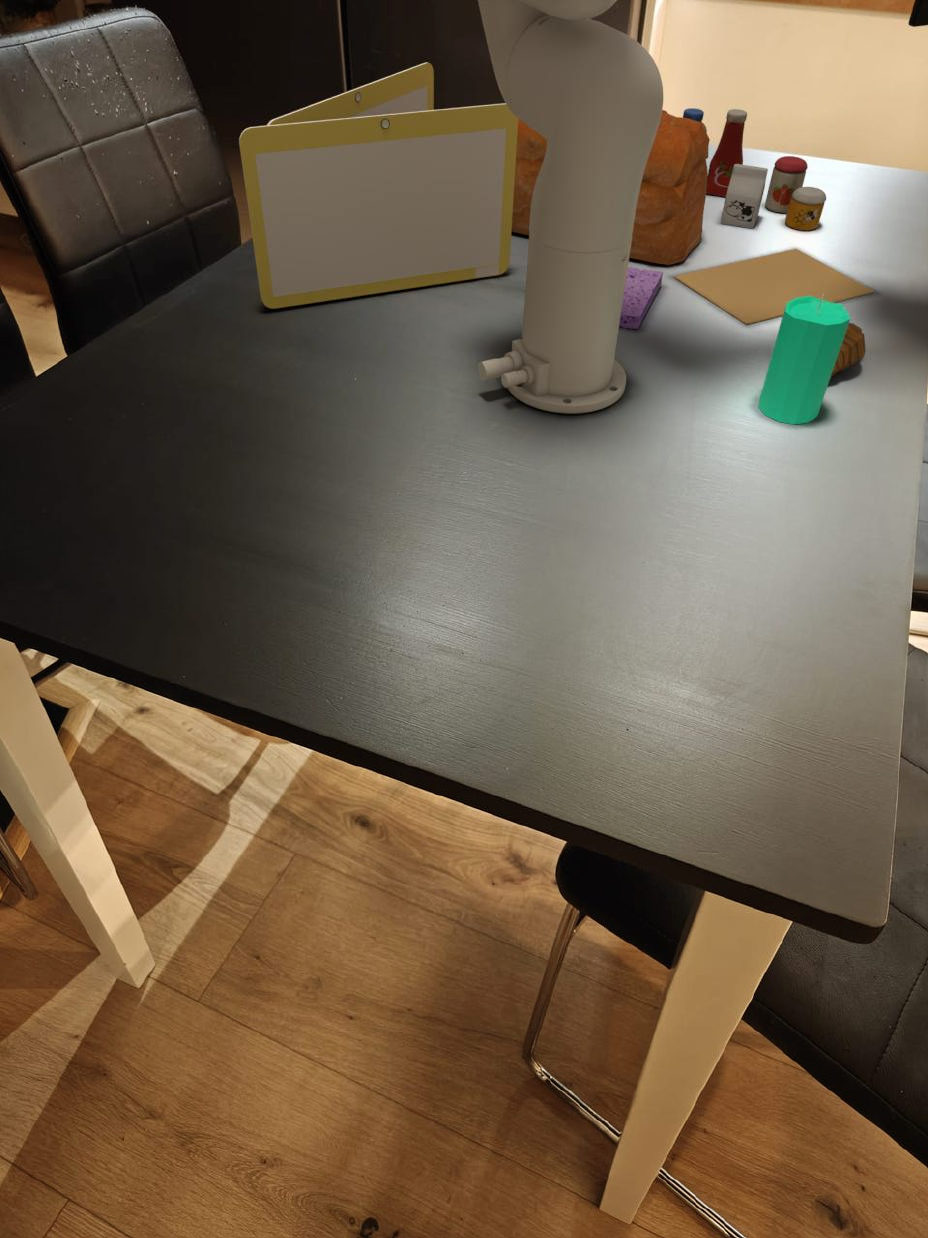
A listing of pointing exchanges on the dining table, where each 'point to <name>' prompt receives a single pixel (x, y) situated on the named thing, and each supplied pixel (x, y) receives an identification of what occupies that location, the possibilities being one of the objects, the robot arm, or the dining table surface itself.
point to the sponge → (638, 295)
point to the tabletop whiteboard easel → (379, 192)
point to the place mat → (770, 284)
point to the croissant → (850, 349)
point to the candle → (803, 359)
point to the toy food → (758, 181)
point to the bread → (665, 192)
